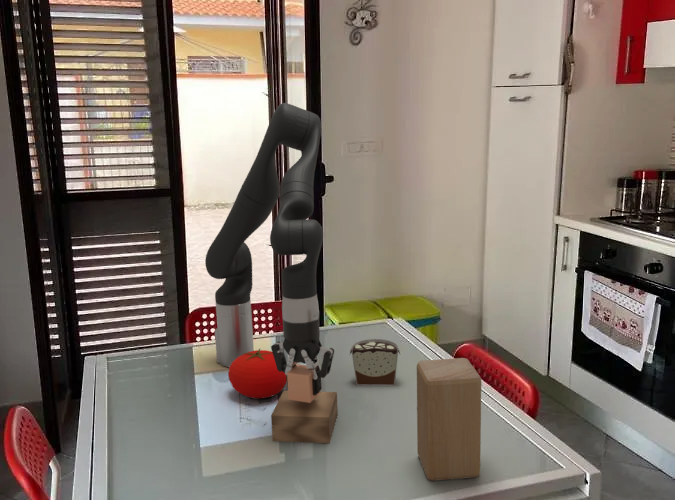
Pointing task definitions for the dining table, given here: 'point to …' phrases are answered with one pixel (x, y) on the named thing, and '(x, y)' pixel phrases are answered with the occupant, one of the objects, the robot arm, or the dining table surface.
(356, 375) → the food container
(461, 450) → the wooden block
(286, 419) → the walnut block
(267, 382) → the tomato
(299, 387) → the terracotta block
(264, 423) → the dining table surface
